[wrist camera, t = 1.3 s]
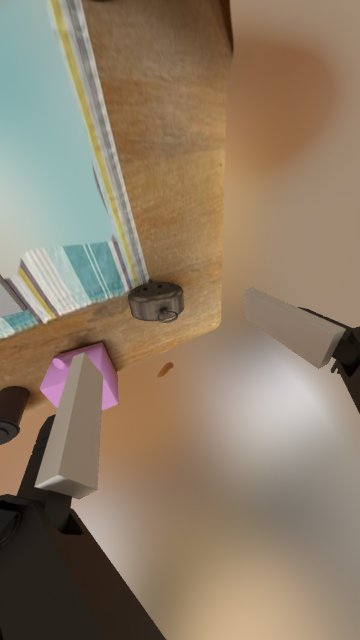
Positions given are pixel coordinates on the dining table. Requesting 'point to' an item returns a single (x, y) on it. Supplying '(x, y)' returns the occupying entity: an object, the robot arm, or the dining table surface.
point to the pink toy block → (60, 369)
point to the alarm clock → (156, 301)
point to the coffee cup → (11, 411)
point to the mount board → (9, 300)
